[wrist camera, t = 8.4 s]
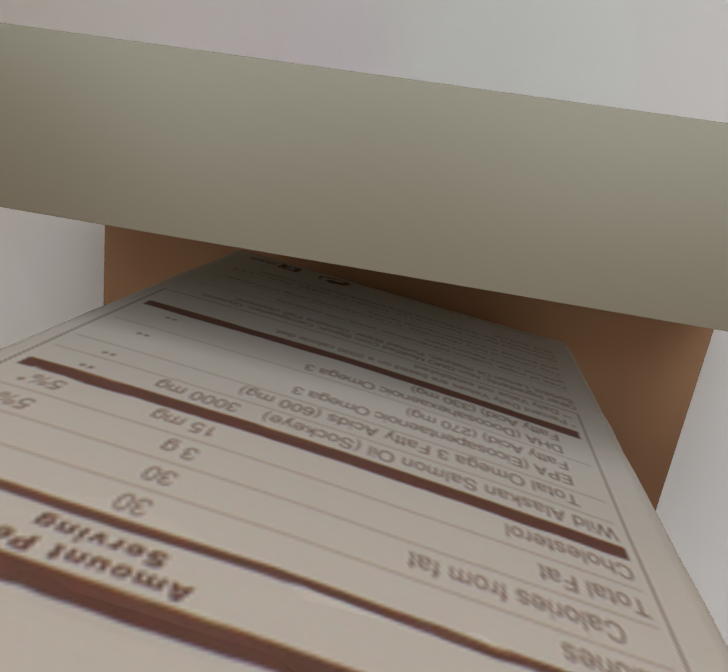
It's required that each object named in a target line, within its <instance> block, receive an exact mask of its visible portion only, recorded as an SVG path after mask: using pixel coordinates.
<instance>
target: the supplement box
mask: <svg viewBox="0 0 728 672" xmlns="http://www.w3.org/2000/svg"><path fill="white" fill-rule="evenodd" d="M0 672H728V647H727V645H726V643H725V641H724V639H723V638H722V636H721V634H720V632H719V630H718V628H717V626H716V624H715V622H714V620H713V618H712V616H711V615H710V613H709V611H708V609H707V607H706V605H705V603H704V601H703V599H702V597H701V595H700V593H699V591H698V590H697V588H696V586H695V584H694V582H693V581H692V579H691V577H690V575H689V573H688V572H687V570H686V568H685V566H684V565H683V563H682V561H681V559H680V557H679V555H678V554H677V552H676V550H675V548H674V546H673V544H672V542H671V540H670V538H669V536H668V534H667V532H666V530H665V529H664V527H663V525H662V523H661V521H660V519H659V517H658V515H657V513H656V511H655V509H654V508H653V506H652V504H651V502H650V500H649V498H648V496H647V494H646V493H645V491H644V489H643V487H642V485H641V483H640V481H639V479H638V477H637V476H636V474H635V472H634V470H633V468H632V467H631V465H630V463H629V461H628V460H627V458H626V456H625V454H624V453H623V451H622V448H621V446H620V444H619V442H618V440H617V439H616V436H615V434H614V432H613V430H612V427H611V426H610V424H609V422H608V421H607V419H606V418H605V416H604V414H603V413H602V411H601V409H600V407H599V405H598V403H597V401H596V399H595V397H594V395H593V393H592V391H591V389H590V387H589V385H588V383H587V382H586V380H585V378H584V376H583V374H582V372H581V371H580V369H579V367H578V365H577V363H576V362H575V360H574V358H573V356H572V354H571V352H570V350H569V349H568V347H567V346H566V344H565V343H563V342H561V341H559V340H554V339H550V338H546V337H542V336H538V335H535V334H531V333H527V332H524V331H520V330H517V329H513V328H510V327H506V326H502V325H499V324H495V323H492V322H488V321H485V320H481V319H478V318H474V317H471V316H468V315H465V314H461V313H457V312H453V311H450V310H446V309H443V308H440V307H436V306H433V305H429V304H425V303H422V302H419V301H416V300H413V299H409V298H405V297H402V296H398V295H395V294H392V293H388V292H385V291H382V290H378V289H375V288H371V287H367V286H364V285H360V284H357V283H354V282H351V281H347V280H344V279H340V278H336V277H333V276H330V275H327V274H323V273H319V272H315V271H312V270H309V269H306V268H303V267H298V266H294V265H290V264H287V263H284V262H280V261H277V260H274V259H271V258H267V257H264V256H260V255H257V254H253V253H250V252H245V251H241V250H237V251H235V252H232V253H230V254H228V255H225V256H223V257H220V258H218V259H216V260H213V261H211V262H208V263H206V264H204V265H201V266H199V267H196V268H194V269H191V270H188V271H185V272H182V273H180V274H178V275H175V276H173V277H171V278H168V279H166V280H163V281H161V282H159V283H157V284H155V285H152V286H150V287H147V288H145V289H143V290H140V291H138V292H136V293H133V294H131V295H129V296H126V297H124V298H121V299H119V300H116V301H114V302H111V303H109V304H107V305H104V306H102V307H99V308H97V309H95V310H92V311H90V312H88V313H85V314H83V315H81V316H78V317H76V318H74V319H71V320H69V321H67V322H64V323H62V324H60V325H57V326H55V327H53V328H50V329H48V330H46V331H43V332H41V333H38V334H36V335H33V336H31V337H29V338H26V339H24V340H22V341H20V342H17V343H15V344H13V345H10V346H8V347H5V348H3V349H0Z"/></svg>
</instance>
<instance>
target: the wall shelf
mask: <svg viewBox="0 0 728 672" xmlns="http://www.w3.org/2000/svg"><path fill="white" fill-rule="evenodd" d="M0 207H4V208H10V209H16V210H22V211H28V212H33V213H39V214H45V215H51V216H57V217H63V218H68V219H74V220H80V221H86V222H92V223H98V224H103V225H105V262H104V305H107V304H109V303H111V302H114V301H116V300H119V299H121V298H124V297H126V296H129V295H131V294H133V293H136V292H138V291H140V290H143V289H145V288H147V287H150V286H152V285H155V284H157V283H159V282H161V281H163V280H166V279H168V278H171V277H173V276H175V275H178V274H180V273H182V272H185V271H188V270H191V269H194V268H196V267H199V266H201V265H204V264H206V263H208V262H211V261H213V260H216V259H218V258H220V257H223V256H225V255H228V254H230V253H232V252H235V251H237V250H241V251H245V252H250V253H253V254H257V255H260V256H264V257H267V258H271V259H274V260H277V261H280V262H284V263H287V264H290V265H294V266H298V267H303V268H306V269H309V270H312V271H315V272H319V273H323V274H327V275H330V276H333V277H336V278H340V279H344V280H347V281H351V282H354V283H357V284H360V285H364V286H367V287H371V288H375V289H378V290H382V291H385V292H388V293H392V294H395V295H398V296H402V297H405V298H409V299H413V300H416V301H419V302H422V303H425V304H429V305H433V306H436V307H440V308H443V309H446V310H450V311H453V312H457V313H461V314H465V315H468V316H471V317H474V318H478V319H481V320H485V321H488V322H492V323H495V324H499V325H502V326H506V327H510V328H513V329H517V330H520V331H524V332H527V333H531V334H535V335H538V336H542V337H546V338H550V339H554V340H559V341H561V342H563V343H565V344H566V346H567V347H568V349H569V350H570V352H571V354H572V356H573V358H574V360H575V362H576V363H577V365H578V367H579V369H580V371H581V372H582V374H583V376H584V378H585V380H586V382H587V383H588V385H589V387H590V389H591V391H592V393H593V395H594V397H595V399H596V401H597V403H598V405H599V407H600V409H601V411H602V413H603V414H604V416H605V418H606V419H607V421H608V422H609V424H610V426H611V427H612V430H613V432H614V434H615V436H616V439H617V440H618V442H619V444H620V446H621V448H622V451H623V453H624V454H625V456H626V458H627V460H628V461H629V463H630V465H631V467H632V468H633V470H634V472H635V474H636V476H637V477H638V479H639V481H640V483H641V485H642V487H643V489H644V491H645V493H646V494H647V496H648V498H649V500H650V502H651V504H652V506H653V508H654V509H655V510H656V507H657V504H658V501H659V498H660V495H661V492H662V489H663V486H664V482H665V479H666V476H667V473H668V470H669V467H670V464H671V461H672V458H673V455H674V451H675V448H676V445H677V442H678V439H679V436H680V433H681V430H682V427H683V423H684V420H685V417H686V414H687V411H688V408H689V405H690V402H691V399H692V395H693V392H694V389H695V386H696V383H697V380H698V377H699V374H700V371H701V367H702V364H703V361H704V358H705V355H706V352H707V349H708V346H709V343H710V339H711V336H712V333H713V330H714V329H716V330H722V331H728V123H722V122H715V121H708V120H701V119H693V118H686V117H679V116H672V115H664V114H657V113H650V112H643V111H635V110H628V109H621V108H614V107H606V106H599V105H592V104H585V103H577V102H570V101H563V100H556V99H548V98H541V97H534V96H527V95H519V94H512V93H505V92H498V91H491V90H483V89H476V88H469V87H462V86H454V85H447V84H440V83H433V82H425V81H418V80H411V79H404V78H396V77H389V76H382V75H375V74H367V73H360V72H353V71H346V70H338V69H331V68H324V67H317V66H309V65H302V64H295V63H288V62H281V61H273V60H266V59H259V58H252V57H244V56H237V55H230V54H223V53H215V52H208V51H201V50H194V49H186V48H179V47H172V46H165V45H157V44H150V43H143V42H136V41H128V40H121V39H114V38H107V37H100V36H92V35H85V34H78V33H71V32H63V31H56V30H49V29H42V28H34V27H27V26H20V25H13V24H5V23H0Z"/></svg>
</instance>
